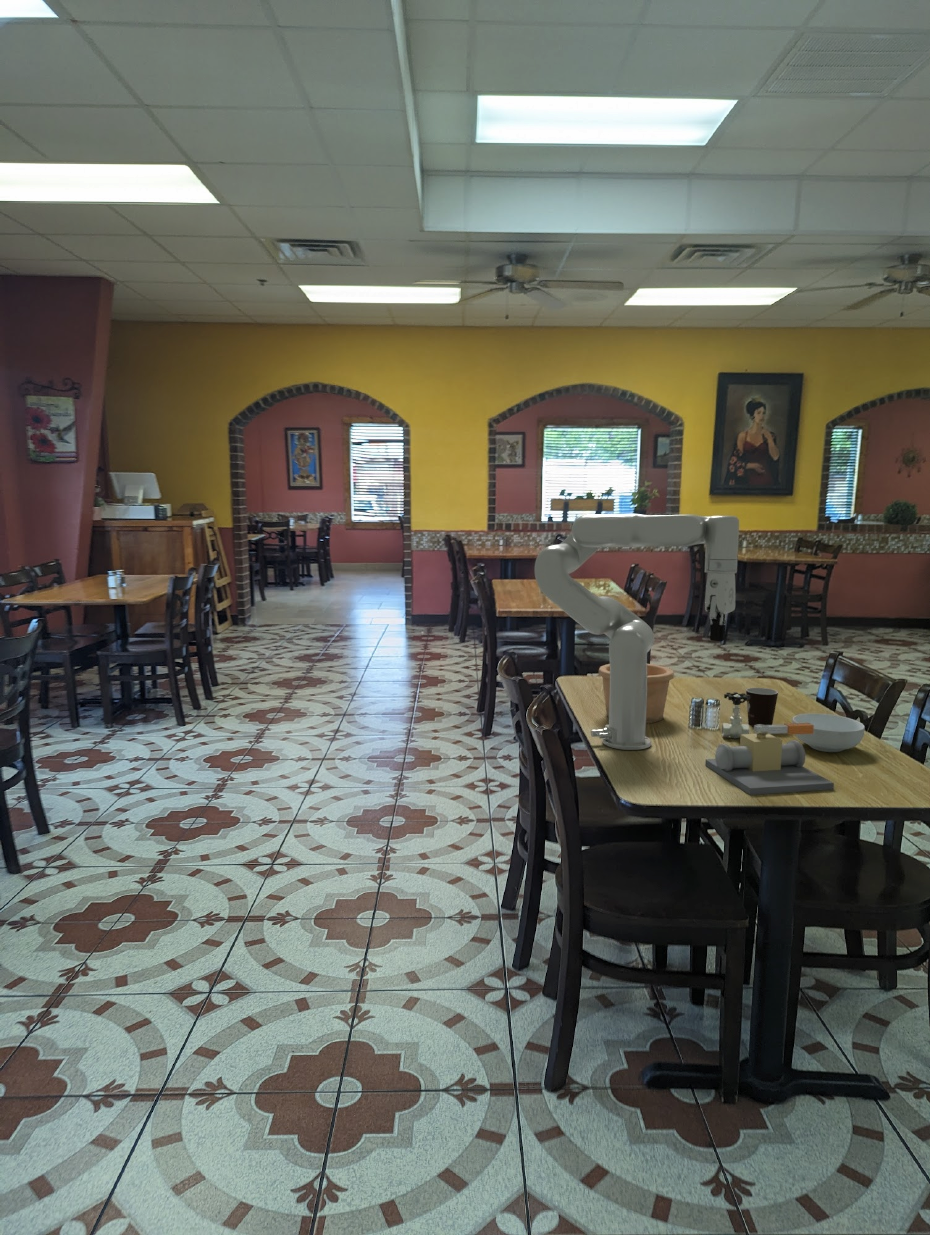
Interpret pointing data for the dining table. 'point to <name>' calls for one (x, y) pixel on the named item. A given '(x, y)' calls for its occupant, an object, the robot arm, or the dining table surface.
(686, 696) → the dining table surface
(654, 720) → the pottery
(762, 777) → the valve board
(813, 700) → the dining table surface
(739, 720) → the valve
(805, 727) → the valve lever
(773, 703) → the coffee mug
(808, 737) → the cereal bowl
